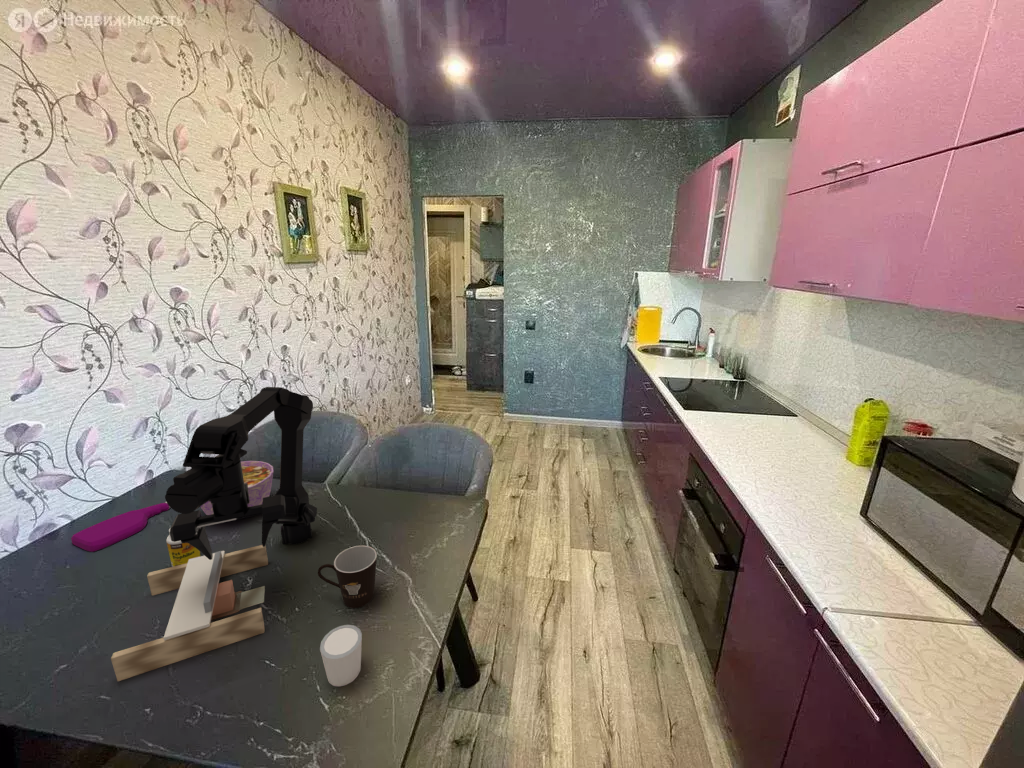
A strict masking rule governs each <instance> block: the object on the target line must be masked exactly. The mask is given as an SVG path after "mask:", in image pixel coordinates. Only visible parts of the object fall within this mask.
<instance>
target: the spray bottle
mask: <svg viewBox="0 0 1024 768" xmlns="http://www.w3.org/2000/svg"><path fill="white" fill-rule="evenodd" d="M169 509H172V508H171V507H170V506H169V505H168V504H167V502H166V501H165V502H161V503H157V504H153V505H150V506H145V507H143V508H139V509H133V510H129V511H126V512H124V513H121V514H118V515H115V516H113V517H110V518H108V519H105V520H103V521H101V522H98V523H96V524H94V525H91V526H88V527H86V528H84V529H82V530H80V531H78V532H76V533H74V534H73V535H72V536H71V537H70V540H71V543H72V545H74V546H75V547H78V548H80V549H82V550H84V551H87V552H89V553H90V552H92V553H93V552H94V553H95V552H97V551H100V550H103V549H105V548H107V547H110V546H112V545H114V544H117V543H119V542H121V541H124V540H125V539H127V538H129V537H131V536H134V535H135V534H137V533H139V532H141V531H142V530H144V529H145V527H146V526H147V524H148V519H149V518H153V517H155V516H156V515H159V514H161V513H163V512H167V511H169Z"/></svg>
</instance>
